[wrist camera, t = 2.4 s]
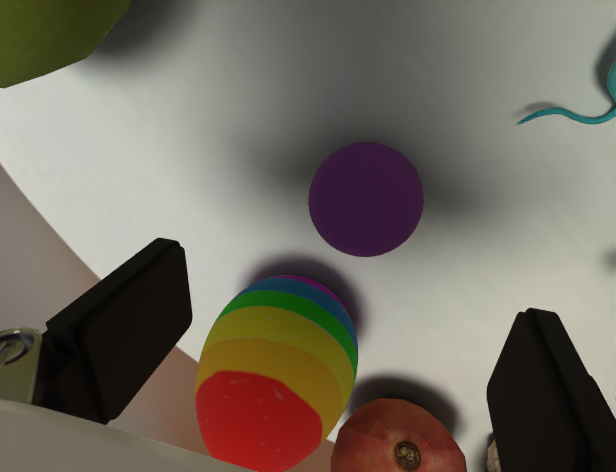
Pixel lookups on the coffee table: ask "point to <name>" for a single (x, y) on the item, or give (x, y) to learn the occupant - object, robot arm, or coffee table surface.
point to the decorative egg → (275, 373)
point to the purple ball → (366, 199)
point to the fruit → (395, 441)
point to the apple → (51, 34)
